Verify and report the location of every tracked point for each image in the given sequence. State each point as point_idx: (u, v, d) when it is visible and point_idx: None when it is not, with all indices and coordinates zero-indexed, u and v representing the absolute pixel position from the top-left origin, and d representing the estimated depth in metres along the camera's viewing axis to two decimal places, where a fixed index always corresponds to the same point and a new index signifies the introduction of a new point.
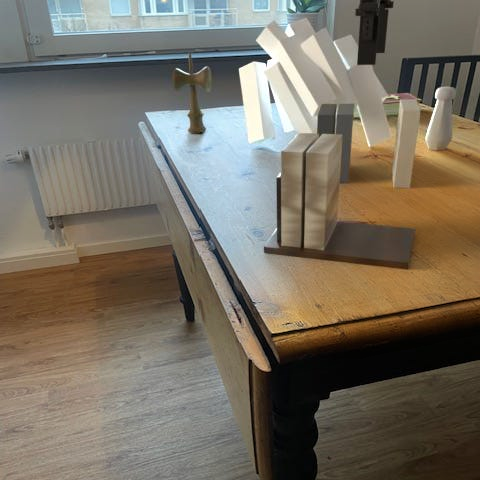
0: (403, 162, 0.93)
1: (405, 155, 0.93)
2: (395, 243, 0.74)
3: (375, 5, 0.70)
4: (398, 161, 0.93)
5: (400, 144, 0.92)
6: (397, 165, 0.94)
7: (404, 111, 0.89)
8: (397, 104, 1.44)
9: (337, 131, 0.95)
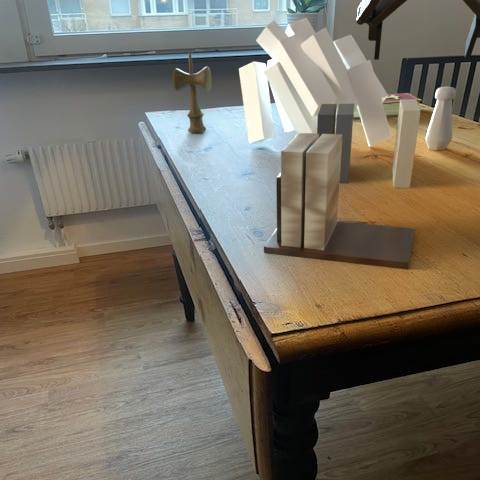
0: (403, 162, 0.93)
1: (405, 155, 0.93)
2: (395, 243, 0.74)
3: None
4: (398, 161, 0.93)
5: (400, 144, 0.92)
6: (397, 165, 0.94)
7: (404, 111, 0.89)
8: (397, 104, 1.44)
9: (337, 131, 0.95)
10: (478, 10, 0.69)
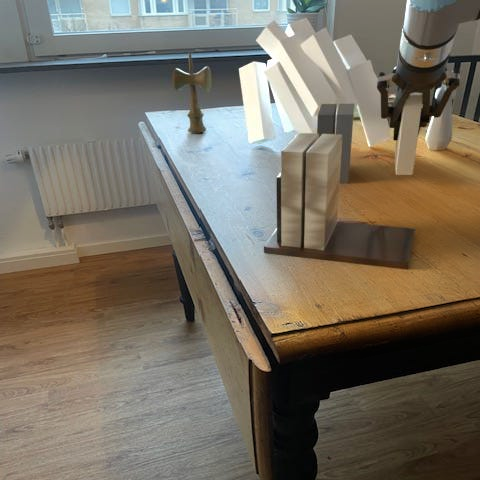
0: (406, 148, 0.92)
1: (408, 141, 0.91)
2: (395, 243, 0.74)
3: None
4: (401, 147, 0.92)
5: (402, 130, 0.91)
6: (400, 152, 0.93)
7: None
8: None
9: (337, 131, 0.95)
10: (426, 110, 0.89)
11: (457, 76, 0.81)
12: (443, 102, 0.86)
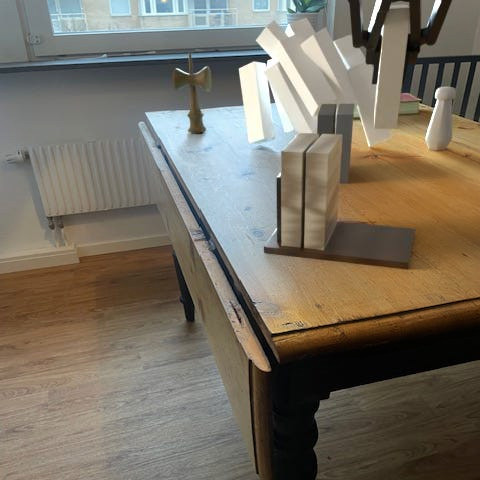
0: (387, 90, 0.66)
1: (389, 78, 0.65)
2: (395, 243, 0.74)
3: None
4: (380, 88, 0.66)
5: (382, 62, 0.64)
6: (378, 94, 0.66)
7: None
8: None
9: (337, 131, 0.95)
10: (415, 32, 0.62)
11: None
12: (440, 17, 0.60)
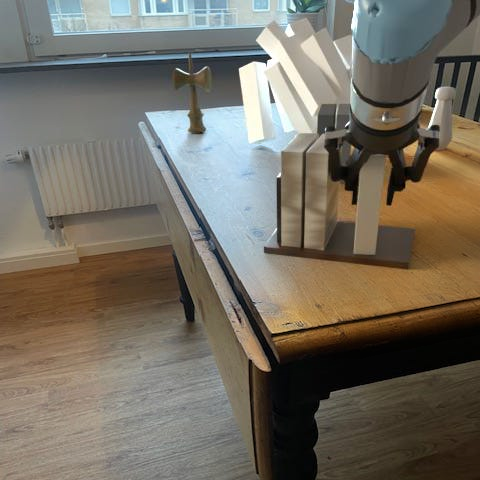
0: (366, 222, 0.69)
1: (367, 213, 0.68)
2: (395, 243, 0.74)
3: None
4: (358, 221, 0.69)
5: (360, 199, 0.67)
6: (357, 226, 0.69)
7: None
8: None
9: None
10: (399, 174, 0.65)
11: (435, 135, 0.58)
12: (421, 165, 0.63)
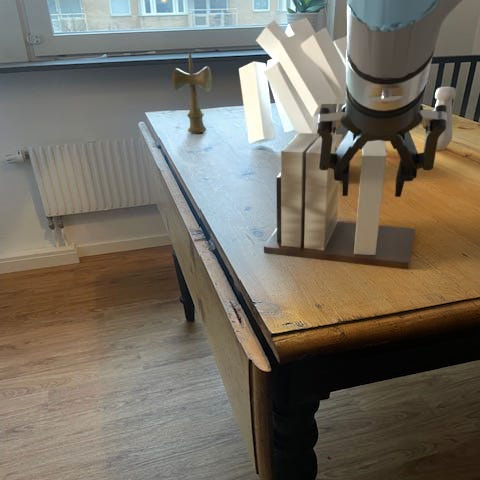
0: (366, 222, 0.69)
1: (367, 213, 0.68)
2: (395, 243, 0.74)
3: None
4: (358, 221, 0.69)
5: (360, 199, 0.67)
6: (357, 226, 0.69)
7: (364, 156, 0.64)
8: None
9: (337, 131, 0.95)
10: (407, 161, 0.60)
11: (441, 116, 0.53)
12: (430, 151, 0.57)
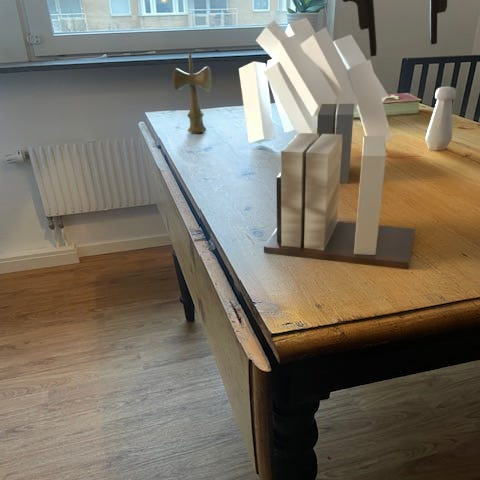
0: (366, 222, 0.69)
1: (367, 213, 0.68)
2: (395, 243, 0.74)
3: None
4: (358, 221, 0.69)
5: (360, 199, 0.67)
6: (357, 226, 0.69)
7: (364, 156, 0.64)
8: (397, 104, 1.44)
9: (337, 131, 0.95)
10: None
11: None
12: None
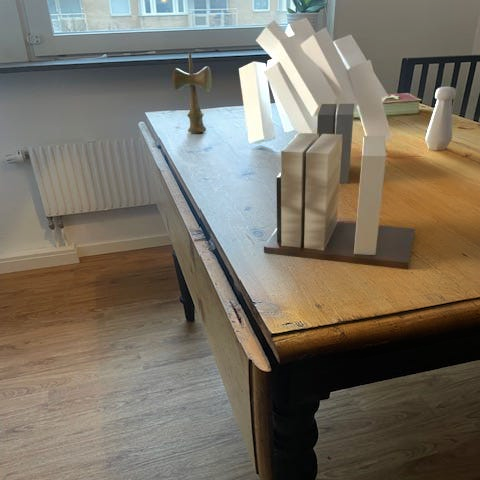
0: (366, 222, 0.69)
1: (367, 213, 0.68)
2: (395, 243, 0.74)
3: None
4: (358, 221, 0.69)
5: (360, 199, 0.67)
6: (357, 226, 0.69)
7: (364, 156, 0.64)
8: (397, 104, 1.44)
9: (337, 131, 0.95)
10: None
11: None
12: None
